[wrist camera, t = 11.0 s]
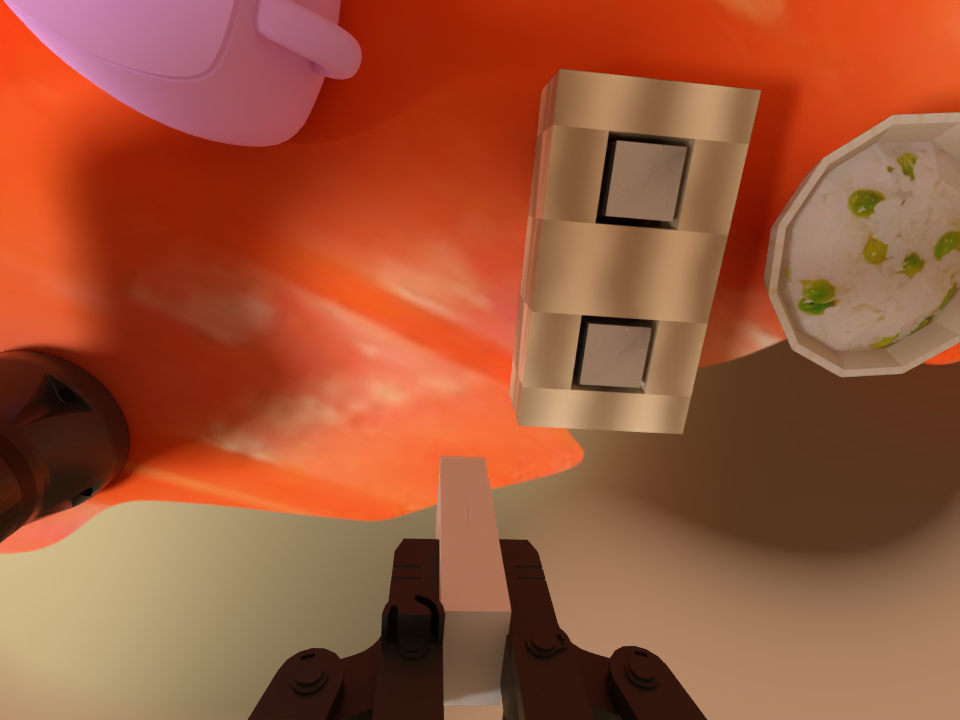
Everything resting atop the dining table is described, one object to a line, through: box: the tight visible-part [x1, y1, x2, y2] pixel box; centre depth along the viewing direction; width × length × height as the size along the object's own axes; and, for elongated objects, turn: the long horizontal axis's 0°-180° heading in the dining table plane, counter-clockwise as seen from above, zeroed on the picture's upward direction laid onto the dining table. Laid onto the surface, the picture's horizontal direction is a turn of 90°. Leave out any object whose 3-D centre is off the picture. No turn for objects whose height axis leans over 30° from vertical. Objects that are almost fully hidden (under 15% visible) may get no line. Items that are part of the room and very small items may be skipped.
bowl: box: [763, 112, 960, 377], centre depth 39 cm, size 19×19×10 cm
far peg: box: [573, 315, 652, 388], centre depth 42 cm, size 5×5×6 cm
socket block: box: [509, 69, 761, 434], centre depth 40 cm, size 14×26×7 cm, turn 175°
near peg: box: [597, 141, 687, 222], centre depth 38 cm, size 5×5×6 cm
